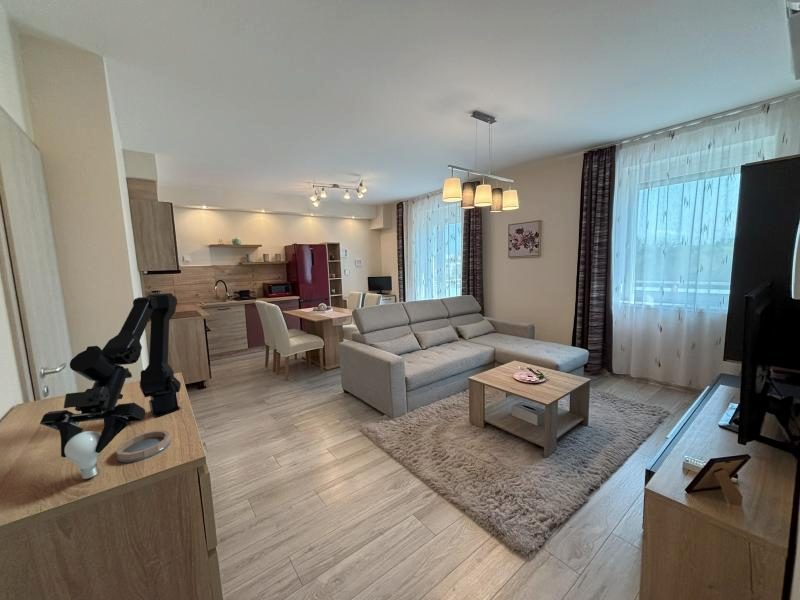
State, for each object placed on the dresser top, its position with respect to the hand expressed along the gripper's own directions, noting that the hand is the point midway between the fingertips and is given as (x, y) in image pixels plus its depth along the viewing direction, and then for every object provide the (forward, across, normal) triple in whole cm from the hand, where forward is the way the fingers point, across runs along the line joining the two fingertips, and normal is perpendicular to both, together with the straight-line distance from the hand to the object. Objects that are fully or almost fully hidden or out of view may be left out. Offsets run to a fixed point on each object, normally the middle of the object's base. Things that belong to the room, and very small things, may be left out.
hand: (80, 454), depth 72 cm
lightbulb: (+4, 0, +6) cm, 7 cm away
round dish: (-3, +6, +12) cm, 14 cm away
